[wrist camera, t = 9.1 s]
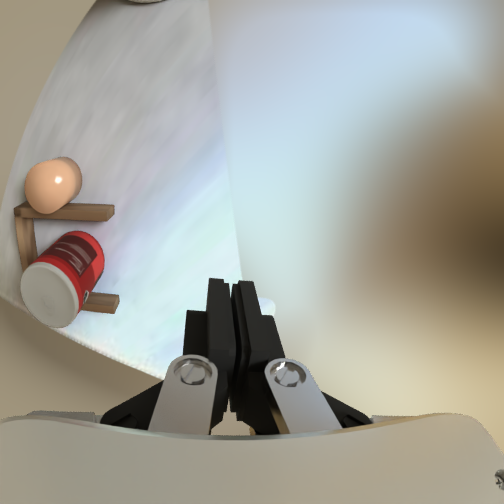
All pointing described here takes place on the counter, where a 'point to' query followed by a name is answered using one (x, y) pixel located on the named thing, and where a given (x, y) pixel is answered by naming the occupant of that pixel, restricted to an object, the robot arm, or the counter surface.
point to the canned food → (62, 278)
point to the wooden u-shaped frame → (71, 212)
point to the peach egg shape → (53, 184)
